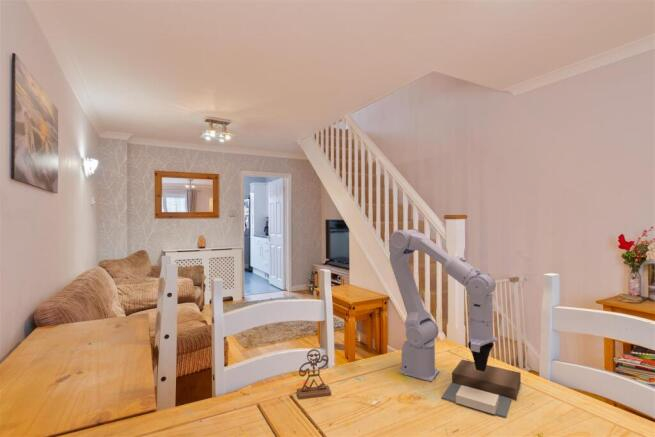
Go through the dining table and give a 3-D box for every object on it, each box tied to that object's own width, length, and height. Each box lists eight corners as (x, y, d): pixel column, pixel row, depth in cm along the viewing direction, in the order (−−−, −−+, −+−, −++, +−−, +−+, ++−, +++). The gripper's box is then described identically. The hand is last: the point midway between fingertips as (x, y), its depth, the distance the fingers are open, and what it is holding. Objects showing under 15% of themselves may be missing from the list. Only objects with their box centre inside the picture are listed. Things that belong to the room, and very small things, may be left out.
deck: (452, 383, 96) (452, 372, 96) (461, 368, 105) (461, 359, 105) (515, 400, 87) (515, 388, 87) (520, 383, 96) (520, 372, 96)
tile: (461, 385, 90) (461, 392, 90) (455, 394, 85) (455, 402, 85) (498, 395, 85) (498, 402, 85) (494, 406, 80) (494, 414, 80)
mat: (441, 398, 88) (441, 397, 88) (451, 383, 96) (451, 382, 96) (505, 418, 79) (505, 416, 79) (511, 400, 87) (511, 398, 87)
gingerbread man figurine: (298, 399, 88) (298, 353, 88) (296, 392, 92) (296, 348, 92) (331, 395, 90) (331, 350, 90) (328, 388, 94) (328, 345, 94)
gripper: (492, 329, 82) (492, 385, 82) (501, 315, 94) (501, 363, 94) (462, 324, 86) (462, 377, 86) (474, 311, 98) (474, 357, 98)
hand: (480, 369), depth 90 cm, fingers closed
